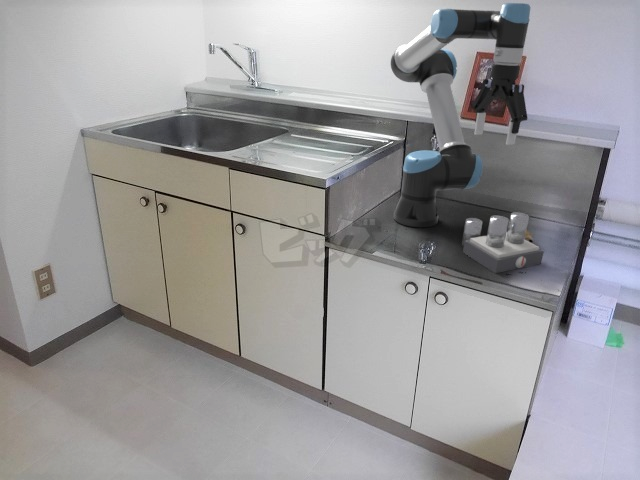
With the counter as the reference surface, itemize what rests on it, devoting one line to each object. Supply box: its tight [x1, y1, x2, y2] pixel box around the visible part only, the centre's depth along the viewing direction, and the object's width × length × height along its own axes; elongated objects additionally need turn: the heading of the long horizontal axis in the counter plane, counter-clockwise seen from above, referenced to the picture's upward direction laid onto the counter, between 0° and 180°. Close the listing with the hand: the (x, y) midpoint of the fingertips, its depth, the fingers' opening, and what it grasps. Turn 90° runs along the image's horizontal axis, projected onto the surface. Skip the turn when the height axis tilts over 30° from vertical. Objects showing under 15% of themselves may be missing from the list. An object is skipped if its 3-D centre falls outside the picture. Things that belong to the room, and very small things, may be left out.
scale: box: [462, 232, 545, 274], centre depth 150 cm, size 15×17×5 cm
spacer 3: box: [506, 211, 530, 244], centre depth 149 cm, size 5×5×8 cm
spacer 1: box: [461, 217, 483, 247], centre depth 158 cm, size 5×5×8 cm
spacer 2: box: [486, 214, 510, 248], centre depth 146 cm, size 5×5×8 cm
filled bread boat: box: [508, 224, 534, 244], centre depth 164 cm, size 5×14×4 cm, turn 4°
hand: (493, 139), depth 152 cm, fingers open, 13 cm apart
